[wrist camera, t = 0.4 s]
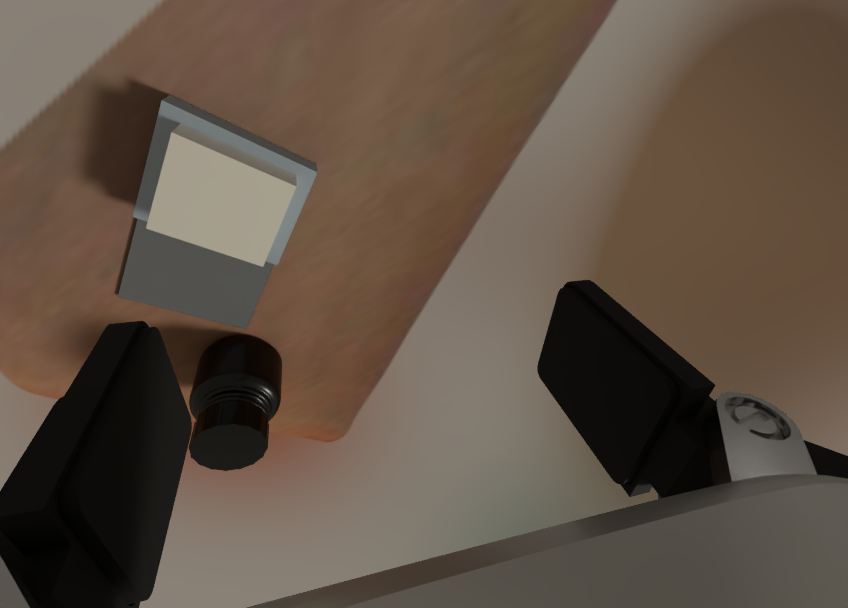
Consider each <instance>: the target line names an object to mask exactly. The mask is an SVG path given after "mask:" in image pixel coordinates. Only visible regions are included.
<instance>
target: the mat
mask: <svg viewBox="0 0 848 608" xmlns="http://www.w3.org/2000/svg"><path fill="white" fill-rule="evenodd" d="M146 226H147V222H146V221H143V220H140V219H137V223H136V227H135V231H134V235H133V239H132V243H131V247H130V251H129V255H128V259H127V263H126V267H125V270H124V274H123V278H122V282H121V286H120V290H119V294H118V297H121V298H125V299H129V300H133V301H137V302H141V303H145V304H149V305H153V306H157V307H161V308H165V309H169V310H173V311H177V312H181V313H185V314H189V315H193V316H196V317H200V318H204V319H208V320H212V321H216V322H220V323H224V324H228V325H232V326H236V327H240V328H244V329H246V328H247V326H248V324H249V321H250V319H251V317H252V314H253V312H254V310H255V307H256V305H257V303H258V300H259V298H260V296H261V293H262V291H263V289H264V286H265V284H266V282H267V279H268V277H269V275H270V272H271V270H272V268H273V265H274V264H272V263H269V262H266V261H265V264H264V266H263V267H262V266H259V265H256V264H253V263H250V262H246V261H243V260H240V259H237V258H234V257H231V256H228V255H225V254H222V253H219V252H216V251H213V250H210V249H207V248H204V247H201V246H198V245H195V244H192V243H189V242H186V241H183V240H179V239H176V238H173V237H170V236H167V235H164V234H161V233H158V232H155V231H152V230H149V229H146Z"/></svg>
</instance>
